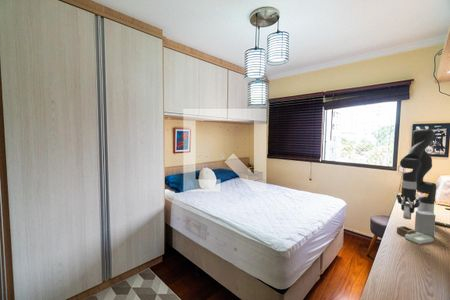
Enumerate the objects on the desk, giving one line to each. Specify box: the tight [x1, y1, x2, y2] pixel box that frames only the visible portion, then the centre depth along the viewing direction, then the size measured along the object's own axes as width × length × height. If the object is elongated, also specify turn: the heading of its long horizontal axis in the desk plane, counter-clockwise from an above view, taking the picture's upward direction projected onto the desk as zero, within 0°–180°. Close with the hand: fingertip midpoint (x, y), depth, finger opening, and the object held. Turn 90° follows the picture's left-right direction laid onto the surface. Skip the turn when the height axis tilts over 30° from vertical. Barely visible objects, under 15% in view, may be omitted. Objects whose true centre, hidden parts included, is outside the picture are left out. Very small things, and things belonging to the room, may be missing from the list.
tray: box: [404, 232, 434, 245], centre depth 134 cm, size 13×8×2 cm, turn 105°
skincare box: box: [414, 210, 437, 238], centre depth 141 cm, size 8×7×16 cm
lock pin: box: [402, 202, 412, 221], centre depth 141 cm, size 5×5×10 cm
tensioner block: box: [396, 226, 416, 237], centre depth 142 cm, size 7×7×4 cm
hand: (407, 211), depth 141 cm, fingers closed on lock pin, 4 cm apart
